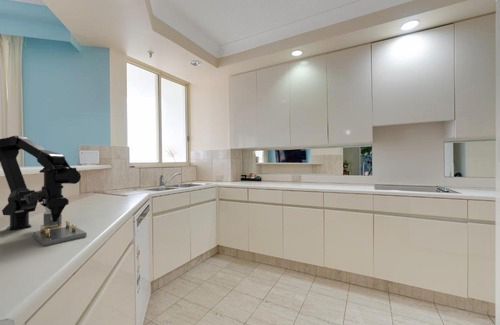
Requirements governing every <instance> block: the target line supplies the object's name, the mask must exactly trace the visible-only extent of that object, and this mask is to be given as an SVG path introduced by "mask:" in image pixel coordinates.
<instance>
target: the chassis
mask: <svg viewBox="0 0 500 325" xmlns="http://www.w3.org/2000/svg"><path fill="white" fill-rule="evenodd" d="M39 227H40V230H39V231H34V232H32V235H33V238H34V239H35V240H36V241H38V243H40V244H41V245H42V246H43V247H46V246H50V245H54V244H55V245H56V244H58V243H64V242H68V241H72V240H78V239H82V238H86V237H87V232H86V231H84V230H83V229H81V228H79V227H77V224H76V223H74V224H71V222H70V220H68V221H65V226H63V227H61V228H56V229H51V230H50V229H45V225H44V224H42V225H40V226H39Z"/></svg>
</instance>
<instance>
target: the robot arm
mask: <svg viewBox="0 0 500 325" xmlns="http://www.w3.org/2000/svg"><path fill="white" fill-rule="evenodd" d="M21 150H23V151H25V152H26V153H28V154H29V155H30V156H33V157H35V159H36V161H37V163H38V164H39V165H40V166H42V167H43V168H42V169H39V172H38V173H40V174H43V185H42V186H41V189H40V190H37V191H36V190H34V189H32V190H31V189H29V188H28V187H27V184H26V182H25V178H24V176H23V174H22V171H21V168H20V165H19V161H18V159H17V158H18V155H19V153H20V151H21ZM0 165H1V169H2V171H3V174H4V176H5V180H6V182H7V185H8V188H9V190H10V194H9V195H8V197H7V202H8V203H7V204H6V205H5V206H4V207H3V209H1V212H2V215H3V216H9V226H7V229H8V230H9V231H13V230H21V229H25V228H26V229H27V228H30V227H32V225H31V223H30V213H31V212H35V211H36V209H37V205H38V203H40V205H41V206H43V207H44V208H45V206H46V207H47V208H49V209H50V211H51V216H52V220H53V222H56V221H57V220H58V218H59V216H60V214H61V212H62V213H63V211H64V209H65V207H67V205H69V204H70V203H69V199H68V198H66V197H64V195H63V189H64V184H65V185H66V184H67V185H68V184H69V185H70V184H71V185H72V184H77V183H79V182H80V181H81V179H82V178H81V174H80V172H79V171H78V170H77V167H72V166H70V164H69V162H68V161H67V160H66V157H65V155H63V154H61V153H58V152H55V151H51V150H49V149H46V148H45V147H42V146H41V145H39V144H37V143H36V142H34V141H33V140H31V139H30V138H29V137H27V136H21V135H12V136H8V137H4V138H0Z"/></svg>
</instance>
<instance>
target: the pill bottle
mask: <svg viewBox="0 0 500 325" xmlns="http://www.w3.org/2000/svg"><path fill="white" fill-rule="evenodd" d="M44 209H45V211H44V212H43V225H45V229H50V230H51V229H56V228H62V226H63V224H62V219H63V218H62V215H63V211H62V212H61V214H60V216H59V218H58V220H57V221H56V222H53V220H52V216H51V211H50V209H49V208H47V207H46V206H45V207H44Z"/></svg>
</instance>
